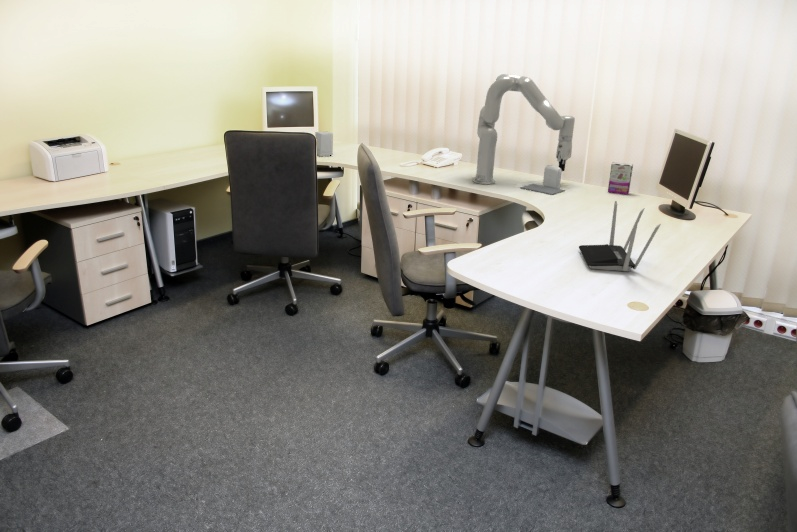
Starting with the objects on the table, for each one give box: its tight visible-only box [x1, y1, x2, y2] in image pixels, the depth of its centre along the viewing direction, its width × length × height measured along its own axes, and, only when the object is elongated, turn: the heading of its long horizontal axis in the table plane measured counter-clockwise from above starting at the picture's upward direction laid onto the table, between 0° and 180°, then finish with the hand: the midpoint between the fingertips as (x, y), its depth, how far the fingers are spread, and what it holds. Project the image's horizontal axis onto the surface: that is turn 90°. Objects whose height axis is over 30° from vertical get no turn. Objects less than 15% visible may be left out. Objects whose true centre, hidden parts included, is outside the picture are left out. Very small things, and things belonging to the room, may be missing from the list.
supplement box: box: [314, 131, 334, 157], centre depth 428 cm, size 9×9×15 cm
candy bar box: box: [607, 161, 634, 196], centre depth 360 cm, size 11×5×16 cm, turn 68°
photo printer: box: [542, 164, 563, 189], centre depth 368 cm, size 10×4×12 cm, turn 39°
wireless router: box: [578, 200, 662, 272], centre depth 248 cm, size 34×23×20 cm
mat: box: [519, 183, 566, 196], centre depth 363 cm, size 14×20×1 cm
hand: (561, 170), depth 374 cm, fingers closed
